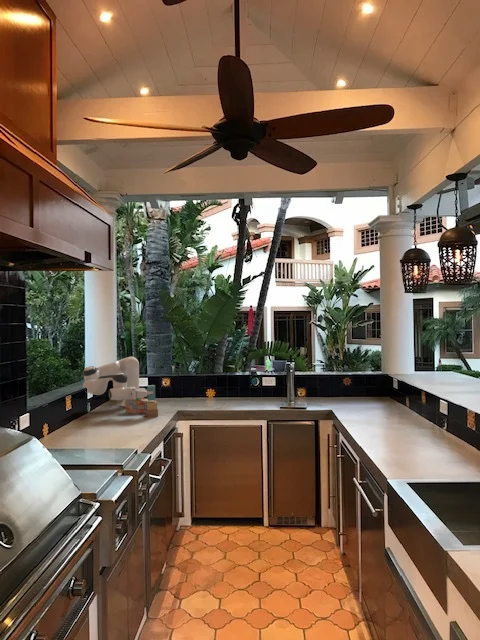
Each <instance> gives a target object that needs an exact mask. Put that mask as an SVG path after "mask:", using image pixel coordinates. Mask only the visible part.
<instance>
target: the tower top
mask: <svg viewBox="0 0 480 640" xmlns="http://www.w3.org/2000/svg"><path fill="white" fill-rule="evenodd" d="M146 409H147V410H157V409H158V402H157V400H155V401H148V402H146Z"/></svg>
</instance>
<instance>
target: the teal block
mask: <svg viewBox="0 0 480 640" xmlns="http://www.w3.org/2000/svg"><path fill="white" fill-rule="evenodd" d="M146 386H147V388H146V390H147V391H153V394H149V395H147V397H146V398H147V399H148V401H149V400H155V401H156V385H155V384H151V385H146Z"/></svg>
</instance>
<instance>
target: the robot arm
mask: <svg viewBox="0 0 480 640" xmlns="http://www.w3.org/2000/svg"><path fill="white" fill-rule="evenodd" d="M82 376H83V380H84V381H83V384H82V388H83V387H86V388H87V392H86V393H88V394H90V395H95V396H100V395H103V394H104V393H105V392H106V391H107V389H108V384H109V381H112V387H113V388H110V389H108V398H109V400H110V401H111V400H112V401H121V404H120V407H125V408H126V404H125V399H127V400H130V399H136V398H142V397H144V398H148V397H147V395H149V394H153V391H147V389H146V388H145V387H140V363H139V360H138V359H137V358H136V357H135V356H128V357H125V358H124V357H123V358H121V359H117V360H115V361H113V362H109V363H107V364H103V365H100V366H98V367H96V366H93V365H90V366H86V367H85V368H84V369H83V370H82Z"/></svg>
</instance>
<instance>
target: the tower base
mask: <svg viewBox="0 0 480 640" xmlns="http://www.w3.org/2000/svg"><path fill="white" fill-rule="evenodd" d="M144 414H145V417H146V418H157V417H159V409H158V408H157V410H147V409H145V413H144Z"/></svg>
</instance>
